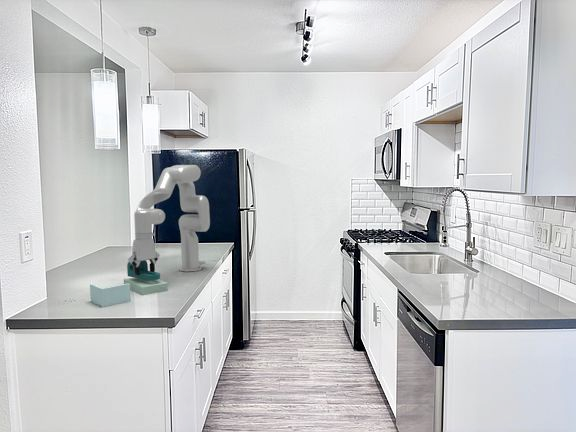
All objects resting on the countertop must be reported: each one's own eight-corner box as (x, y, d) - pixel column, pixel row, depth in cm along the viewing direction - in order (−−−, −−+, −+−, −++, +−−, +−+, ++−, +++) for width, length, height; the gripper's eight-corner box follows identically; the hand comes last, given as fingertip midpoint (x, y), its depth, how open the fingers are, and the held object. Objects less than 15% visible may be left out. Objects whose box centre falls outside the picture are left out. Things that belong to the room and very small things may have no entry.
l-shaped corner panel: (130, 300, 185) (129, 283, 184) (102, 307, 176) (101, 289, 175) (118, 295, 193) (117, 279, 192) (90, 301, 184) (89, 284, 184)
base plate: (147, 282, 218) (147, 275, 217) (167, 291, 201) (167, 282, 201) (123, 287, 209) (123, 279, 209) (143, 296, 193) (142, 287, 193)
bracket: (127, 276, 207) (126, 260, 207) (139, 273, 213) (138, 257, 212) (151, 281, 197) (150, 264, 196) (163, 278, 203) (162, 261, 202)
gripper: (155, 233, 212) (156, 269, 214) (122, 237, 199) (123, 275, 201) (164, 235, 207) (165, 271, 209) (130, 239, 194) (132, 277, 196)
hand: (145, 273), depth 205 cm, fingers closed on bracket, 7 cm apart
